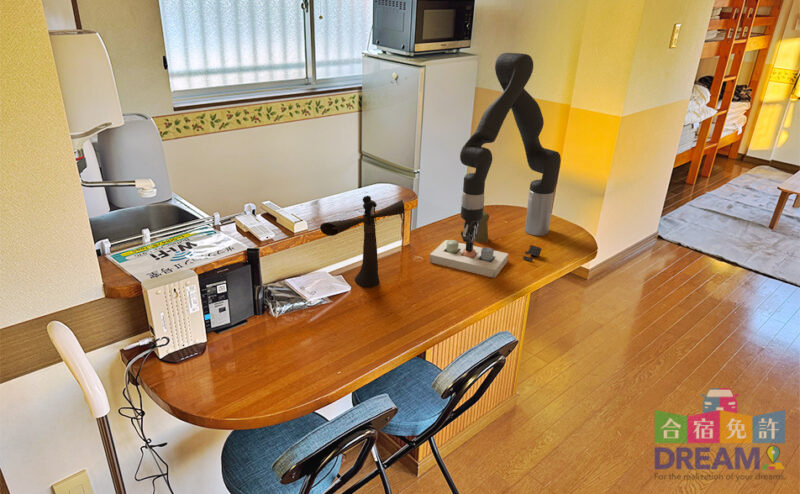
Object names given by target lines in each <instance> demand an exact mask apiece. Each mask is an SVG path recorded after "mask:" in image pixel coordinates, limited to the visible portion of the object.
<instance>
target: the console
mask: <svg viewBox="0 0 800 494" xmlns="http://www.w3.org/2000/svg"><path fill="white" fill-rule="evenodd" d="M449 240H450V239H449ZM449 240H448V239H445V240H444V241H442V243H441V244H439V245H438V246H437V247H436V248H435V249H433V251H432V252H431V253H430V254H429V263H432V264H436V265H440V266H444V267H449V268H452V269H456V270H460V271H464V272H469V273H473V274H477V275H482V276H485V277H489V278H490V277H491V278H494V279H495V278H496V277H497V275H498V274H499V273H500V272H501V271H502V269H503V268H504V267H505V265H506V264H507V263H508V261H509V253H506V252H502V251H500V250H494V253H493V261H492V262H487V261H483V260H481V249H482V248H483V247H482V246H476V245H473V249H474V250H475V251H476V252H475V257H474V258H470V257H465V256H463V250H464V249H466V243H462V242H458V253H457V254H452V253H448V252H446V245H447V241H449Z"/></svg>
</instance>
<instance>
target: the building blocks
mask: <svg viewBox="0 0 800 494" xmlns="http://www.w3.org/2000/svg"><path fill="white" fill-rule="evenodd" d="M542 250H543V248H542V247H538V246H535V245H533V244H530V246H529V248H528V251H527V250H525V252H524V255H523V257H522V259H524V260H526V261H529V262H533V260H534V258H532V257H528V256H529V255H532V256H535V257H537V258H539V257H540V255H541V252H542ZM526 255H527V256H526Z"/></svg>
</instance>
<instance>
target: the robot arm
mask: <svg viewBox="0 0 800 494" xmlns="http://www.w3.org/2000/svg"><path fill="white" fill-rule="evenodd" d="M494 70H495V74H496V75H495V76H496V78H497V80H498V82H499V85H500V87H501V89H502V90H503V92H502V93H501V94H500V95H499V96H498V97H497V98H496V99H495V100H494V101H493V102H492V103H491V104H490V105H489V106H488V107H487V108H486V110H485V111H484V112H483V114H482V116H481V118H480V121H479V123H478V124H477V127H476V129H475V130H474V132H473V134H472V135H471V136H470V137H469V138H468V140H466V142H465V144H464V145H463V146H462V148H461V150H460V153H459V154H460V155H459V159H460V162H461V164H462V165H463V166H465V167H466V166H467V167H469V168H473V169H475V172H470V173H469V172H468V173H467V174H465V175H464V177H463V187H462V195H461V206H460V207H461V208H460V218H462V219H463V220H464V223H463V230H461V232H460V235H461V238H462V241H463V242H465V244H466V251H468V252H471V251H472V250H473V246H474V243H475V241H474V240H475V237H476V236H477V233H478V230H479V226H480V221H479V220H481V219H482V218H483V212H484V207H485V186H486V185H485V184H486V180H487V176H488V174H489V171H490V168H491V166H492V163H493V154H492V151H491V150H490V149H489V148H487V147H484V146H483V145H485V144H492V143H494V142H496V139H497V137H498V136H499V133H500V130H501V128H502V126H503V123H504V121H505V120H506V117H507V115H508V114H509V112H510V111H511V112H512V115H513V118H514V121H515V123H516V126H517V129H518V131H519V135H520V137H521V140H522V144H523V147H524V151H525V156H526V162H527V165H528V167H529V169H530V170H532V171H534V172H536V173H539V174H541V178H540V179H535V180H532V181H531V182H530V184H529V190H528V191H529V192H528V200H527V209H526V216H525V226H524V231H525V232H526V233H527V234H528V235H529V234H530V235H533V236H540V237H541V236H546V235H548V234H549V230H550V224H551V217H552V209H553V208H552V207H553V203H554V202H553V201H554V196H555V195H554V194H555V189H556V186H557V183H558V178H559V173H560V169H561V161H562V158H561V153H560V152H558V151H555V150H553V149H549V148H545V147H544V146H542V144H541V141H540V139H539V138H540V134H541V133H542V130H543V128H544V122H545V120H544V117H543V114H542V110H541V107H540V105H539V103H538V101H536V99H535V98H534V97H533V96H532V95H531V94H530V93H529V92H528V91H527V90H526V89H525V87H526V85H527V83H528V82H529V81H530V79H531V77H532V74H533V71H534V60H533V58H532V56H531V55H530V54H527V53H518V52H504V53H501V54H500V55H498V56H497V57H496V60H495V64H494Z"/></svg>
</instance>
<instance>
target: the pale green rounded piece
mask: <svg viewBox="0 0 800 494" xmlns="http://www.w3.org/2000/svg"><path fill="white" fill-rule="evenodd" d="M458 243H459V241H458V240H454V239H449V241H447V245H446V251H445V252H448V253H452V254H457V253H458V252H459V251H458Z"/></svg>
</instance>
